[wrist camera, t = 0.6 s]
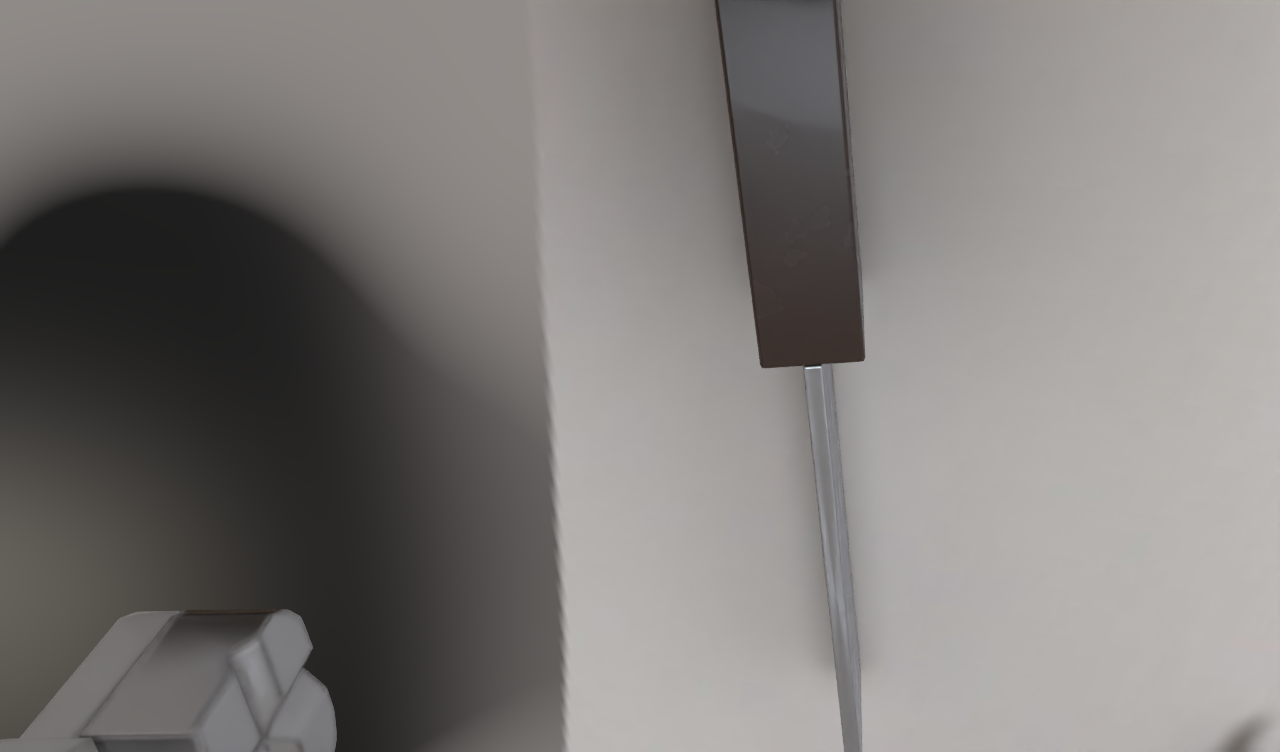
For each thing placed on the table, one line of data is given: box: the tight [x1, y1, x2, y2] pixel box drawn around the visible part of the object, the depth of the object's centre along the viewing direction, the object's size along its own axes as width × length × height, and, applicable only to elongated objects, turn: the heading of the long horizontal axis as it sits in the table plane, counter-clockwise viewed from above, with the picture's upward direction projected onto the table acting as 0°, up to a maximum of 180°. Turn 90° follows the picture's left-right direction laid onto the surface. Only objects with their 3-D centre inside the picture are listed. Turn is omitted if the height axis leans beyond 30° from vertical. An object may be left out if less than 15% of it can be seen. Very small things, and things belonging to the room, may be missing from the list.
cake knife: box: [715, 0, 865, 752], centre depth 28 cm, size 20×2×4 cm, turn 9°
